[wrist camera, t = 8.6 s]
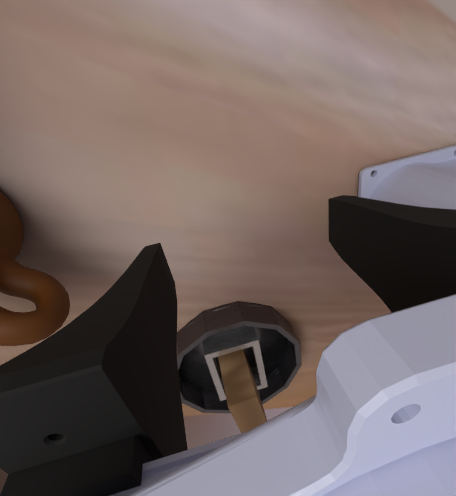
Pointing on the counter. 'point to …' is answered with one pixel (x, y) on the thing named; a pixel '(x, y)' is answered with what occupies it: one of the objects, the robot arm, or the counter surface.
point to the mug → (26, 288)
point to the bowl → (230, 340)
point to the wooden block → (241, 391)
